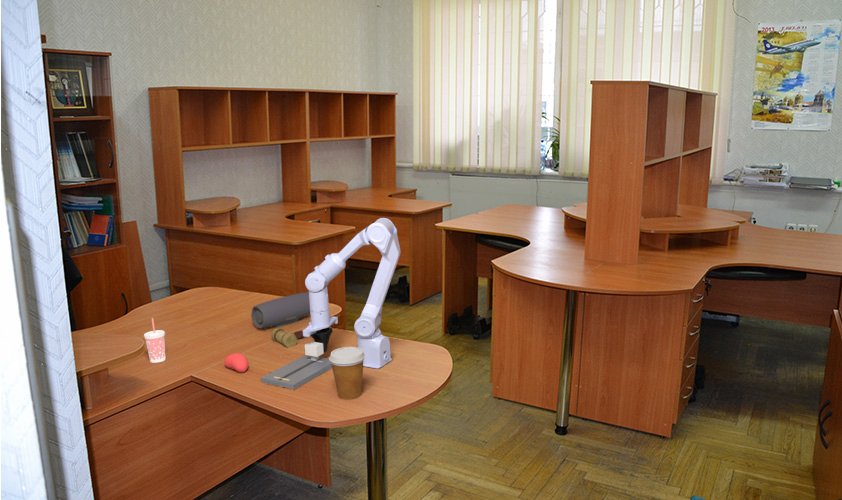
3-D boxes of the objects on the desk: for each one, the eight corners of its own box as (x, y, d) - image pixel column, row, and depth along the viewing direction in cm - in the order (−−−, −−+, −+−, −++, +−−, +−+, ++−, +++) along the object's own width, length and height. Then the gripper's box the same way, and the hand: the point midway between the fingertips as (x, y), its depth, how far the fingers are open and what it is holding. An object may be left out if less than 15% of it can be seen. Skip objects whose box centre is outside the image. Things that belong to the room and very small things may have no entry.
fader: (324, 359, 195) (322, 343, 194) (317, 362, 193) (316, 346, 192) (312, 356, 198) (311, 341, 197) (305, 360, 195) (304, 344, 194)
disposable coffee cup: (368, 386, 179) (365, 345, 176) (366, 401, 169) (363, 358, 167) (333, 388, 178) (330, 347, 176) (330, 403, 169) (326, 359, 167)
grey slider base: (337, 364, 195) (337, 359, 195) (293, 390, 178) (293, 384, 178) (306, 359, 201) (305, 354, 201) (261, 382, 184) (260, 377, 184)
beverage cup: (147, 358, 207) (142, 316, 204) (168, 355, 209) (162, 314, 207) (147, 365, 202) (141, 322, 199) (168, 361, 204) (162, 319, 201)
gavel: (324, 319, 232) (339, 325, 224) (324, 331, 232) (339, 337, 225) (270, 328, 218) (284, 335, 211) (271, 341, 219) (284, 349, 212)
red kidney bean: (245, 367, 200) (233, 350, 200) (255, 364, 193) (243, 347, 192) (231, 377, 197) (219, 360, 197) (241, 375, 190) (229, 357, 189)
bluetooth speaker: (303, 313, 249) (301, 288, 247) (318, 318, 243) (316, 292, 241) (251, 328, 233) (249, 302, 231) (265, 334, 227) (263, 306, 225)
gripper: (323, 301, 204) (326, 342, 206) (293, 314, 191) (297, 358, 194) (342, 304, 200) (344, 345, 203) (312, 317, 188) (315, 361, 191)
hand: (322, 352), depth 198 cm, fingers closed
